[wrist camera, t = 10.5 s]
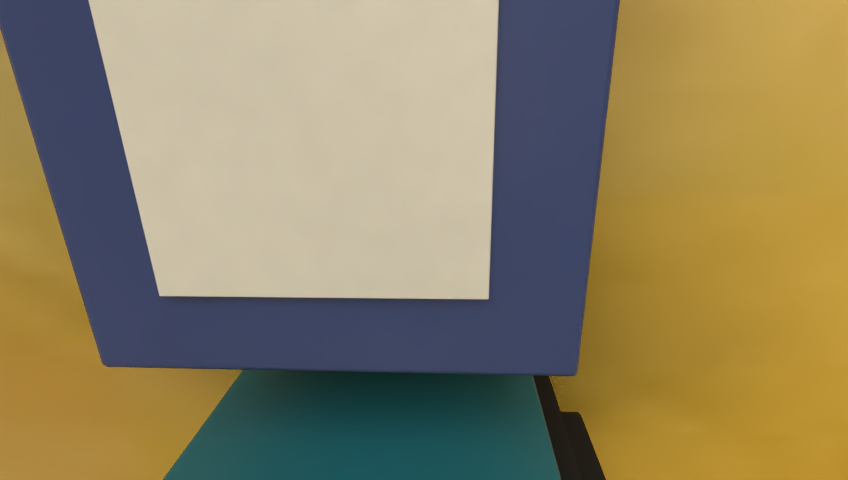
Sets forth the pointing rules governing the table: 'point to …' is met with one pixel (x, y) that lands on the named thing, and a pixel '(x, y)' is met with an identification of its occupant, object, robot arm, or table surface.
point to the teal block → (372, 429)
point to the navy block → (323, 177)
